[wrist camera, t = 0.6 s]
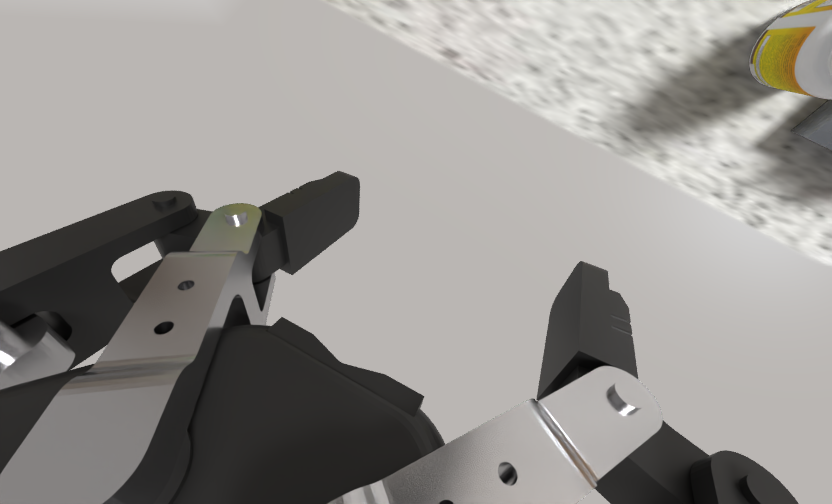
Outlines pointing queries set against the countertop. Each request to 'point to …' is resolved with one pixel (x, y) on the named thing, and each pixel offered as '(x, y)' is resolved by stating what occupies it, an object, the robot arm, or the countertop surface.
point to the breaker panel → (818, 126)
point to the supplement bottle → (797, 51)
